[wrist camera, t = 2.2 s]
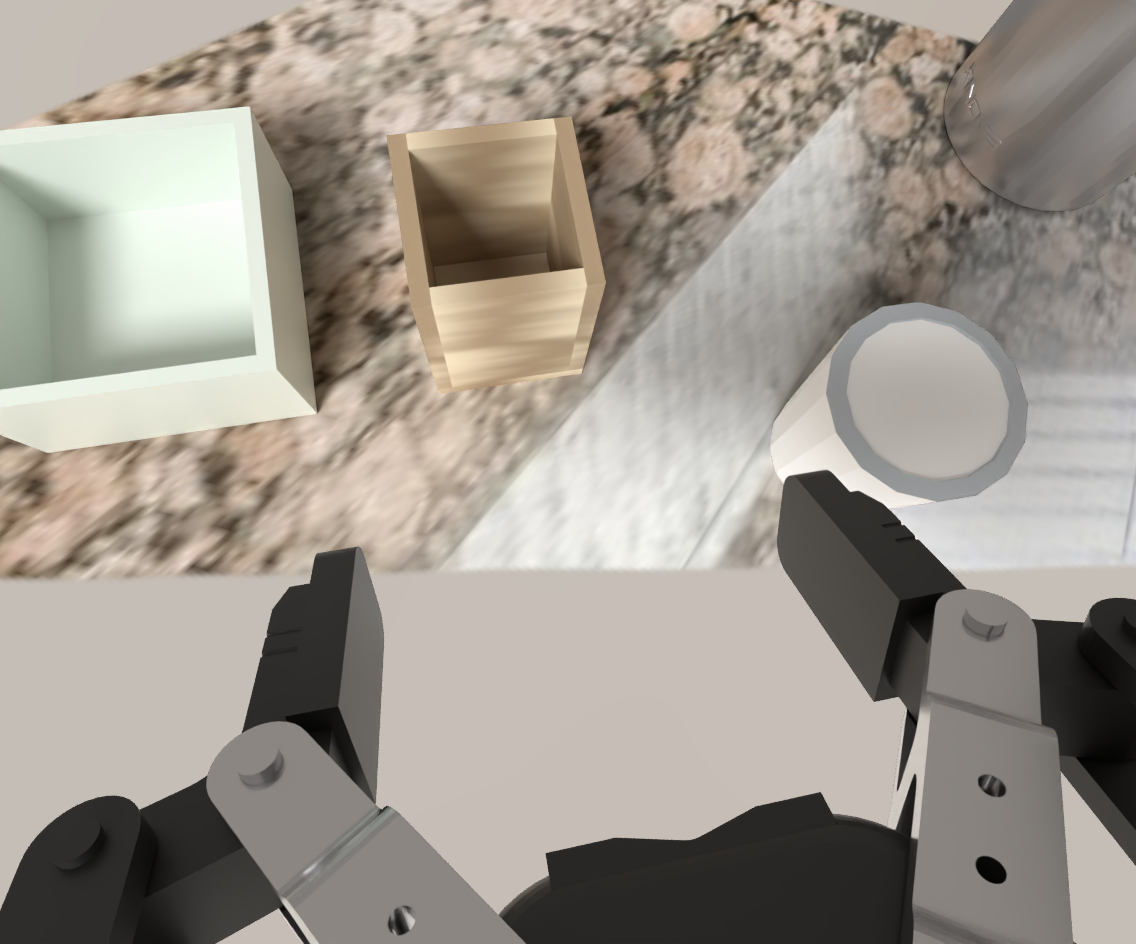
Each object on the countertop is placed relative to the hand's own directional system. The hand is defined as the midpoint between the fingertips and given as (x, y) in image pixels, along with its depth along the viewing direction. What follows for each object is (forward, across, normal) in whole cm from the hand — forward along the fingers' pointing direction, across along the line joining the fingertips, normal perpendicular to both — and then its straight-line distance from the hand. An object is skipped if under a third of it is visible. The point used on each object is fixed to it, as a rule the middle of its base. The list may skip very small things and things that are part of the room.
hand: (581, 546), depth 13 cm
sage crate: (+20, +13, +1) cm, 24 cm away
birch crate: (+19, 0, +2) cm, 19 cm away
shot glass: (+13, -13, +8) cm, 20 cm away
